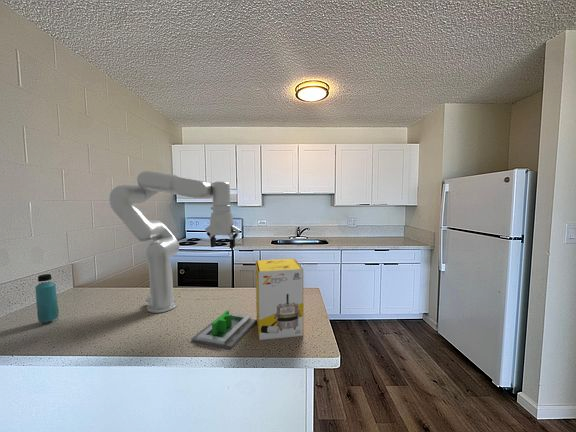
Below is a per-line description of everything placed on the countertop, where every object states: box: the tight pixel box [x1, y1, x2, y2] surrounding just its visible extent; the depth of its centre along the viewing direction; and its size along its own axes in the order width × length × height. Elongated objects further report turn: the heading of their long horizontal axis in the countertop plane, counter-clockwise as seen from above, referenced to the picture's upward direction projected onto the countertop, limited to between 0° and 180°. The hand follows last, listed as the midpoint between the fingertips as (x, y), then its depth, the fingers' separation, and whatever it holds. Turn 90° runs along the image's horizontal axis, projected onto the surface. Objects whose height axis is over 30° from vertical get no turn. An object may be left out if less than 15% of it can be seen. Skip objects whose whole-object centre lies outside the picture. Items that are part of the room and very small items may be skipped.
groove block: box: [190, 312, 257, 350], centre depth 101 cm, size 16×20×2 cm
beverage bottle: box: [34, 273, 60, 323], centre depth 109 cm, size 6×7×20 cm
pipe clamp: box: [211, 310, 232, 336], centre depth 101 cm, size 11×4×5 cm, turn 166°
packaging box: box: [255, 258, 304, 341], centre depth 103 cm, size 16×16×25 cm
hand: (222, 247), depth 120 cm, fingers open, 9 cm apart
